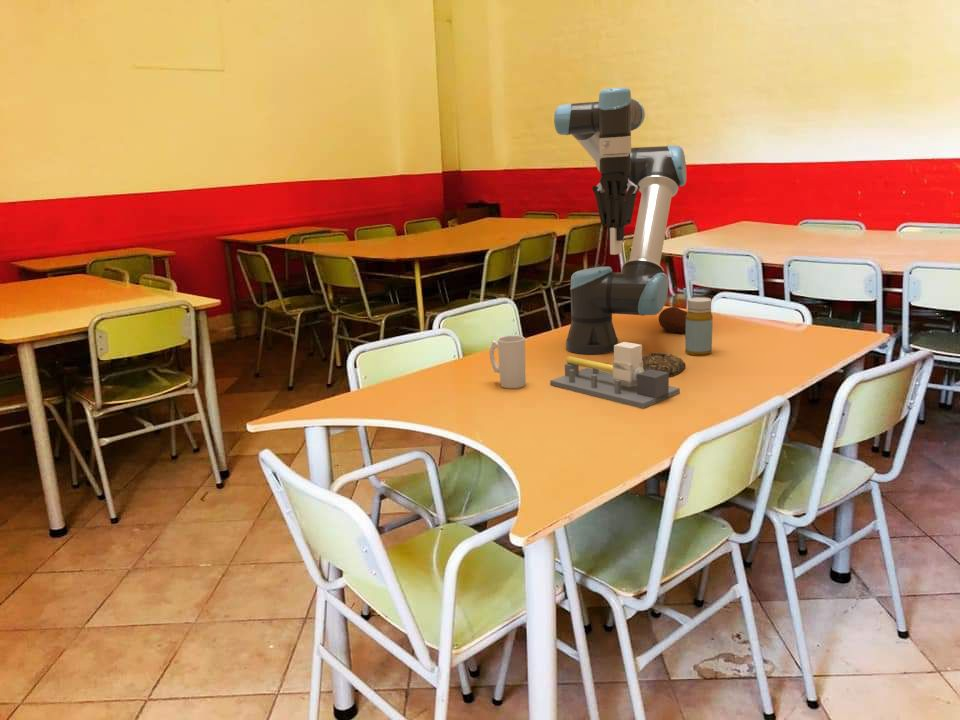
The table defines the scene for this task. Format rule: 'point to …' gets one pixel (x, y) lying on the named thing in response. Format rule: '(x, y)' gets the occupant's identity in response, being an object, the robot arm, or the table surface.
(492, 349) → the mug
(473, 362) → the table surface
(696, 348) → the bottle
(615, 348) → the sleeve
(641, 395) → the yellow rod slider
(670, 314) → the potato
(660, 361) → the bread roll
